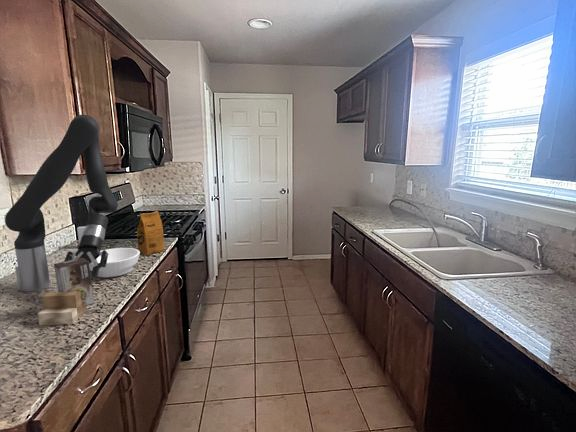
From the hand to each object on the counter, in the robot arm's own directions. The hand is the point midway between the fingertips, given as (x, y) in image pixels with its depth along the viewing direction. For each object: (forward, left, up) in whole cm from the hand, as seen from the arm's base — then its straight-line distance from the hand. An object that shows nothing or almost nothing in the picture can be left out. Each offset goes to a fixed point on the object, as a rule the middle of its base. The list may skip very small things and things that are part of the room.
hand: (80, 277), depth 118 cm
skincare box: (-33, +71, -9) cm, 79 cm away
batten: (0, -16, -9) cm, 18 cm away
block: (0, -11, -9) cm, 14 cm away
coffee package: (+7, +59, -9) cm, 60 cm away
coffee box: (0, -4, -9) cm, 10 cm away
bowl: (-1, +29, -9) cm, 30 cm away
